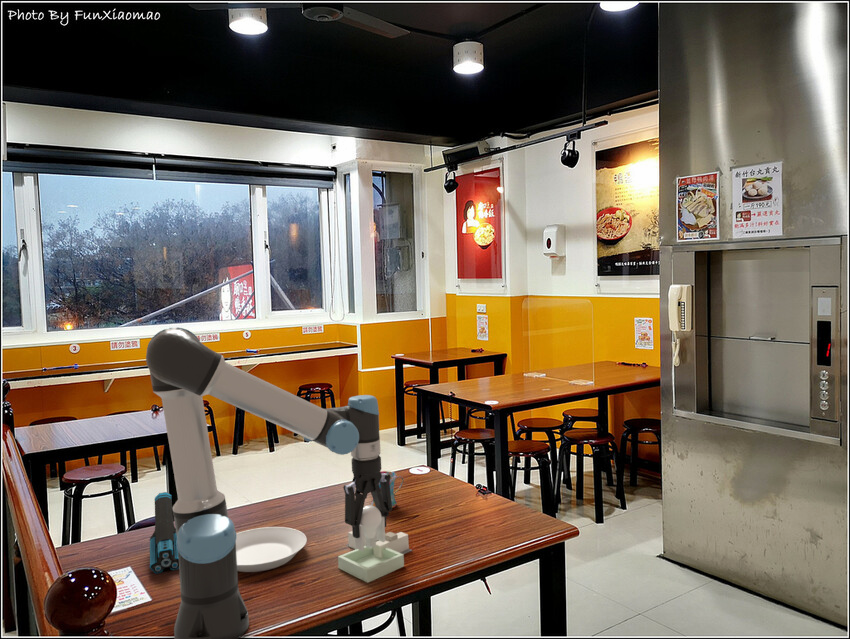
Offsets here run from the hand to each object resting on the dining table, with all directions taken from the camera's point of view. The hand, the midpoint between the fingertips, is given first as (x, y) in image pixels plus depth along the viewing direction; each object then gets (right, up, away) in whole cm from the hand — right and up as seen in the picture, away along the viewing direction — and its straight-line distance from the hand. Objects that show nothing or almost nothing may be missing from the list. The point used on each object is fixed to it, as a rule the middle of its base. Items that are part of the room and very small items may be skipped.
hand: (370, 544), depth 162 cm
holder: (+1, -5, +12) cm, 13 cm away
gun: (-58, -8, +14) cm, 60 cm away
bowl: (-31, -7, +10) cm, 33 cm away
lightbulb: (0, -1, 0) cm, 1 cm away
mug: (+2, -4, +45) cm, 45 cm away
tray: (0, -6, 0) cm, 6 cm away
